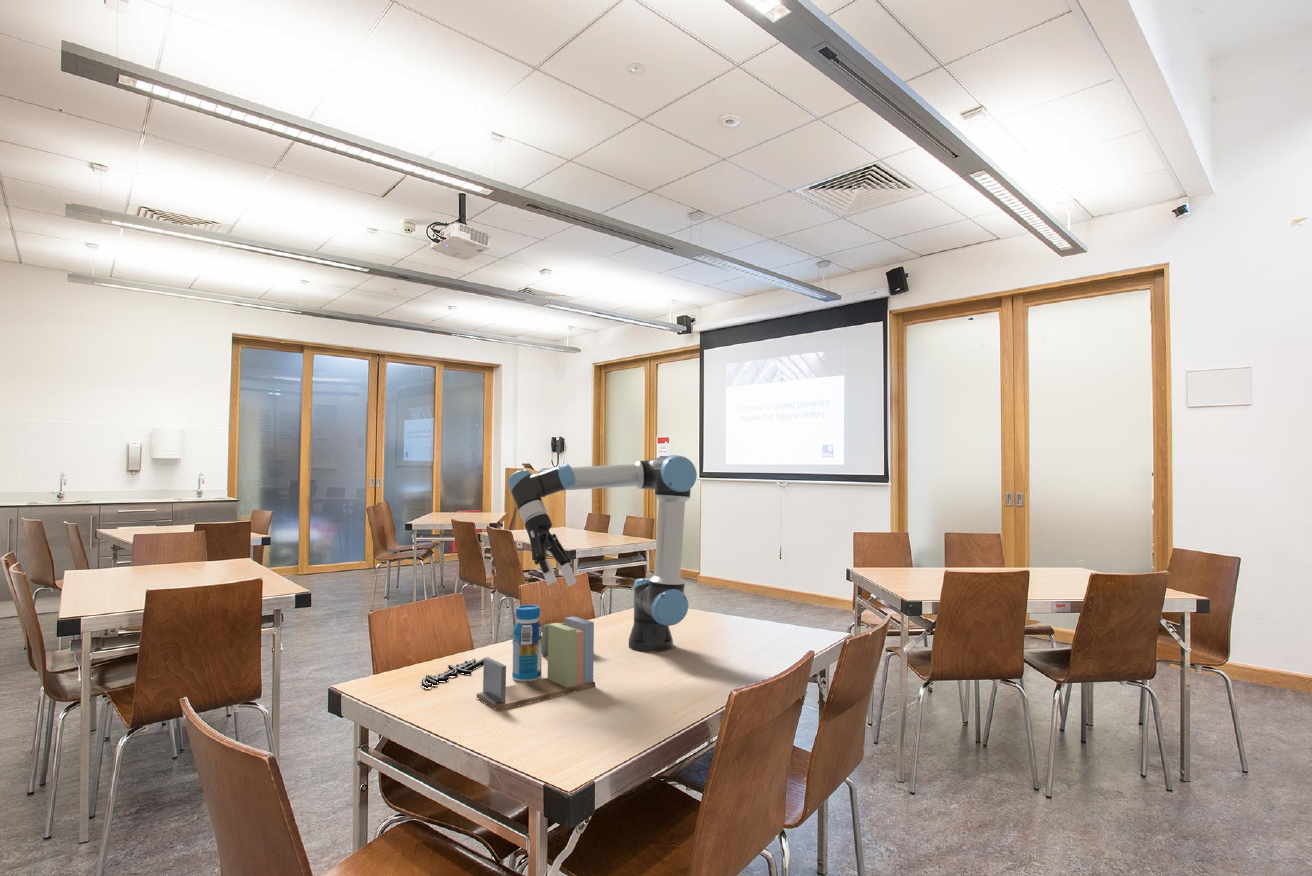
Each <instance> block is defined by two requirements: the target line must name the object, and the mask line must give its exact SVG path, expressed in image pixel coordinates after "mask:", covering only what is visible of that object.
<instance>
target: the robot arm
mask: <svg viewBox="0 0 1312 876" xmlns="http://www.w3.org/2000/svg"><path fill="white" fill-rule="evenodd" d="M697 475H698V473H697V469H696V466H695V464H694V463H693V461H691V460H690V459H689V458H687V457H685V456H683V455H678V454H672V455H668V456H667V455H665V456H660V457H655V458H651V459H646V460H637V461H635V463H631V464H630V463H629V464H612V465H611V464H608V465H594V466H593V465H592V466H591V465H590V466H572V467H571V465H570V464H568V463H564V464H561V465H560V464H559V465H557V466H555V467H550V468H549V467H548V468H546V467H545V468H541V469H540V470H539V471H538V472H536V473H534V474H532V472H531V471H530V470H528V469H523V470H522V469H521V470H517V471H516V472H513V473H512V474H510V475H509V477H508V479H507V483H508V486H509V487H508V488H509V490H510V494H511V495H512V497H513V500H514V503H515V504H516V508H517V510H518V512H519V515H520V516H519V517H520V519H521V520H522V522H523V524H524V527H525V530H526V532H527V535H528V537H529V543H530V548H531V550H530V551H531V555H532V560H533V562H534V564H535V565H536V566H537V565H539V567H540V568H539V569H540V570H541V572H542V575H543V577H544V580H545V582H546V584H547V586H551V585H552V584H555V583H556V582H557V580H558V579H557V578H556V575H555V573H554V570H553V568H552V565H551V563H550V561H549V559H547V551H548V552H550V553H551V554H552V556H553V557H554V559H555V560H556V561H557V562H558V564H559V565H560V566H559V567H560V570H561V572H562V576H563V577H564V580H565V583H566V585H567V586H568V588H570V587H572V586H574V585H576V584H577V583H578V582H577V580H576V577H575V575H574V572H573V570H572V567H571V565H570V563H572V559H571V558H570V556H569V555H568V553H567V552H566V550H565V548H564V546H562V544H561V542H560V541H559V539H558V537H557V535H556V533H553V534H551V532H550V529H552V526H553V523H552V520H551V518H550V516H549V514H548V511H547V508H546V505H545V504H544V501H543V500H542V498H545V497H547V496H551V495H553V494H556V493H559V492H561V491H572V490H573V491H574V490H575V491H576V490H592V489H608V488H609V489H611V488H623V487H625V488H627V487H636V488H637V489H643V490H645V489H649V490H654V496H655V497H656V499H657V500H658V512H657V525H656V526H657V527H656V538H655V539H656V542H655V543H656V544H655V555H654V557H655V558H654V570H653V571H654V574H653V575H652V576H650V577H649V578H648V577H646V578H645V577H644V578H636V580H634V584H633V585H634V586H633V625H632V628H631V632H630V635H629V638H628V647H629V648H630V649H631V648H632V649H631V650H634V651H638V652H647V651H655V652H662V651H668V650H671V649H672V648H674V641H673V640H674V639H673V635H672V632H671V629H670V626H674V625H677V624H679V623H680V622H681V621H683V619H685V617H686V615H687V614H688V612H689V611H688V610H689V599H688V597H687V596H686V594H685V581H684V580H683V578H682V577H681V571H682V559H683V558H682V555H683V541H684V525H685V511H686V510H685V507H686V503H687V501H689V499H691V489H692V488H693V487H694V485H695V483H696V481H697ZM670 648H671V649H670Z"/></svg>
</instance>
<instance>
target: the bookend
mask: <svg viewBox="0 0 1312 876" xmlns="http://www.w3.org/2000/svg"><path fill="white" fill-rule="evenodd" d="M483 659H484V665H483V676H482V677H483V679H482V680H483V681H482V683H483V684H482V693H481V692H478V693H479V695H480V696H482V697H483V698H485V699H487V700H488V701H490V702H492V703H494V704H499V703H500V704H502V703H505V697H506V687H507V685H506V684H507V665H505V664H504V663H500V662H499V661H497V660H495V659H493V658H490V657H489V656H487V657H483Z"/></svg>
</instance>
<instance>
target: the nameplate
mask: <svg viewBox="0 0 1312 876" xmlns="http://www.w3.org/2000/svg"><path fill="white" fill-rule="evenodd" d="M483 664H484V658H482V659H480V660H478V661H476V658H472V660H465V661H464V663H457V664H456V665H452V664H449V665H448V664H447V666H448V668H449V669H450V670H446V671H444V672H443V673H438V674H437V675H432V674H426V675H425V678H422V679H421V687H422V686H424V687H426V688H428V687H431V686H432V684H433V685H437V686H438V684H437V682H439V681H447V680H448V681H449V678H448V677H449V676H456V675H457V674H459V673H464V674H471V675H472V671H474V670H475V669H474V668H476V667H478V666H480V665H482V666H484V665H483ZM480 667H481V666H480ZM448 668H447V669H448ZM478 668H479V667H478ZM473 669H474V670H473ZM476 669H477V668H476ZM470 670H472V671H470ZM457 676H458V675H457ZM426 681H427V682H428V683H431V684H427V683H426ZM439 683H440V682H439ZM431 688H432V687H431Z"/></svg>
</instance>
